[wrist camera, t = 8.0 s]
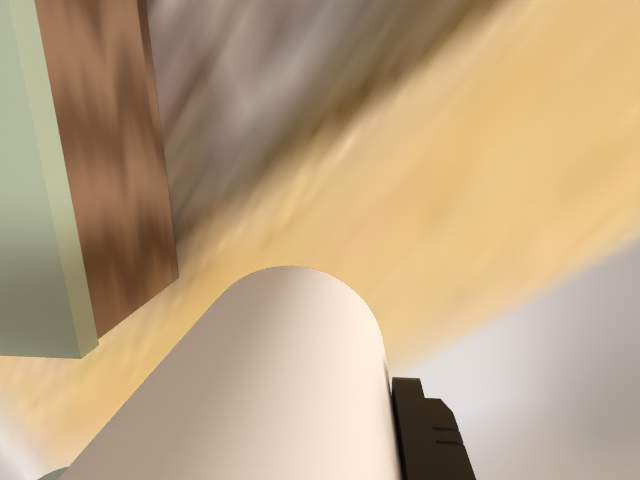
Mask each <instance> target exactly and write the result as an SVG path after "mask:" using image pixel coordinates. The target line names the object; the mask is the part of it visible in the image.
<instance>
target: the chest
mask: <svg viewBox="0 0 640 480" xmlns="http://www.w3.org/2000/svg"><path fill="white" fill-rule="evenodd" d="M34 2H35V7H36V12H37V18H38V23H39V28H40V34H41V39H42V44H43V50H44V55H45V60H46V66H47V71H48V76H49V82H50V87H51V92H52V98H53V103H54V108H55V114H56V119H57V124H58V130H59V135H60V140H61V145H62V151H63V156H64V161H65V167H66V172H67V177H68V183H69V188H70V193H71V199H72V204H73V209H74V215H75V220H76V225H77V231H78V236H79V241H80V247H81V252H82V257H83V263H84V268H85V273H86V279H87V284H88V289H89V295H90V300H91V305H92V311H93V316H94V321H95V327H96V332H97V337H98V339H99V338H100V337H102V336H103V335H104V334H106V333H107V332H108V331H110V330H111V329H112V328H114V327H115V326H116V325H118V324H119V323H120V322H121V321H123V320H124V319H125V318H127V317H128V316H129V315H131V314H132V313H133V312H135V311H136V310H137V309H138V308H140V307H141V306H142V305H144V304H145V303H146V302H148V301H149V300H150V299H152V298H153V297H154V296H156V295H157V294H158V293H159V292H161V291H162V290H163V289H165V288H166V287H167V286H169V285H170V284H171V283H173V282H174V281H175V280H177V279H178V278H179V273H178V264H177V256H176V248H175V240H174V231H173V223H172V215H171V207H170V199H169V190H168V182H167V174H166V166H165V157H164V149H163V141H162V133H161V124H160V116H159V108H158V100H157V92H156V83H155V75H154V67H153V59H152V50H151V42H150V34H149V26H148V18H147V9H146V1H145V0H34Z"/></svg>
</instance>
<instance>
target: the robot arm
mask: <svg viewBox="0 0 640 480" xmlns="http://www.w3.org/2000/svg"><path fill="white" fill-rule="evenodd" d="M391 398H392V405H393V412H394V419H395V426H396V433H397V440H398V447H399V455H400V462H401V469H402V476H403V480H476V478H475V475H474V472H473V469H472V466H471V464H470V460H469V458H468V455H467V452H466V449H465V446H464V445H463V440H462V437H461V434H460V432H459V429H458V426H457V423H456V420H455V417H454V414H453V412H452V411H451V410H450V409H449V408H448V407H447V406H446V404H445V403H444V402H443V401H442V400H441V399H435V398H425V397H424V393H423V390H422V385H421V381H420V379H419V378H400V377H393V378H392V395H391ZM67 469H68V467H65V468H61V469H58V470H56V471H53V472H51V473H49V474H47V475H45V476H43V477H41V478H40V479H38V480H58V479H59V478H60V477H61V475H62V474H63V473H64V472H65V471H66V470H67Z"/></svg>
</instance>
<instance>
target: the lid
mask: <svg viewBox="0 0 640 480" xmlns="http://www.w3.org/2000/svg"><path fill="white" fill-rule="evenodd" d="M98 345H99V343H98V337H97V332H96V327H95V321H94V316H93V311H92V305H91V300H90V295H89V289H88V284H87V279H86V273H85V268H84V263H83V257H82V252H81V247H80V241H79V236H78V231H77V225H76V220H75V215H74V209H73V204H72V199H71V193H70V188H69V183H68V177H67V172H66V167H65V161H64V156H63V151H62V145H61V140H60V135H59V130H58V124H57V119H56V114H55V108H54V103H53V98H52V92H51V87H50V82H49V76H48V71H47V66H46V60H45V55H44V50H43V44H42V39H41V34H40V28H39V23H38V18H37V12H36V7H35V2H34V0H0V355H1V356H25V357H49V358H73V359H82V358H83V357H84V356H85V355H87V354H88V353H89V352H91V351H92V350H93V349H94V348H96V347H97V346H98Z"/></svg>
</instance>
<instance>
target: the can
mask: <svg viewBox="0 0 640 480" xmlns="http://www.w3.org/2000/svg"><path fill="white" fill-rule="evenodd" d="M58 480H403V476H402V469H401V462H400V455H399V447H398V440H397V433H396V426H395V419H394V412H393V405H392V398H391V391H390V384H389V377H388V370H387V363H386V357H385V351H384V345H383V340H382V336H381V332H380V329H379V326H378V324H377V321H376V319H375V317H374V315H373V313H372V312H371V310H370V309H369V307H368V306H367V304H366V303H365V302H364V301H363V300H362V298H361V297H360V296H359V295H358V294H357V293H356V292H355V291H353V290H352V289H351V288H350V287H349V286H347V285H346V284H344V283H343V282H341V281H340V280H338V279H336V278H334V277H332V276H330V275H328V274H326V273H323V272H320V271H317V270H314V269H310V268H304V267H297V266H279V267H271V268H266V269H262V270H259V271H256V272H254V273H251V274H249V275H247V276H245V277H243V278H241V279H240V280H238V281H237V282H235V283H234V284H233V285H231V286H230V287H229V288H228V289H227V290H226V291H225V292H224V293H223V294H222V295H221V296H220V297H219V298H218V299H217V300H216V301H215V302H214V303H213V304H212V305H211V307H210V308H209V309H208V310H207V311H206V312H205V313H204V314H203V315H202V317H201V318H200V319H199V320H198V321H197V322H196V323H195V324H194V326H193V327H192V328H191V329H190V330H189V331H188V332H187V333H186V335H185V336H184V337H183V338H182V339H181V340H180V341H179V342H178V344H177V345H176V346H175V347H174V348H173V349H172V350H171V351H170V353H169V354H168V355H167V356H166V357H165V358H164V359H163V361H162V362H161V363H160V364H159V365H158V366H157V367H156V368H155V370H154V371H153V372H152V373H151V374H150V375H149V376H148V378H147V379H146V380H145V381H144V382H143V383H142V384H141V385H140V387H139V388H138V389H137V390H136V391H135V392H134V393H133V395H132V396H131V397H130V398H129V399H128V400H127V401H126V402H125V404H124V405H123V406H122V407H121V408H120V409H119V410H118V412H117V413H116V414H115V415H114V416H113V417H112V418H111V420H110V421H109V422H108V423H107V424H106V425H105V426H104V427H103V429H102V430H101V431H100V432H99V433H98V434H97V435H96V437H95V438H94V439H93V440H92V441H91V442H90V443H89V445H88V446H87V447H86V448H85V449H84V450H83V451H82V453H81V454H80V455H79V456H78V457H77V458H76V459H75V461H74V462H73V463H72V464H71V465H70V466H69V467H68V469H67V470H66V471H65V472H64V473H63V474H62V475H61V477H60V478H59V479H58Z"/></svg>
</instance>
